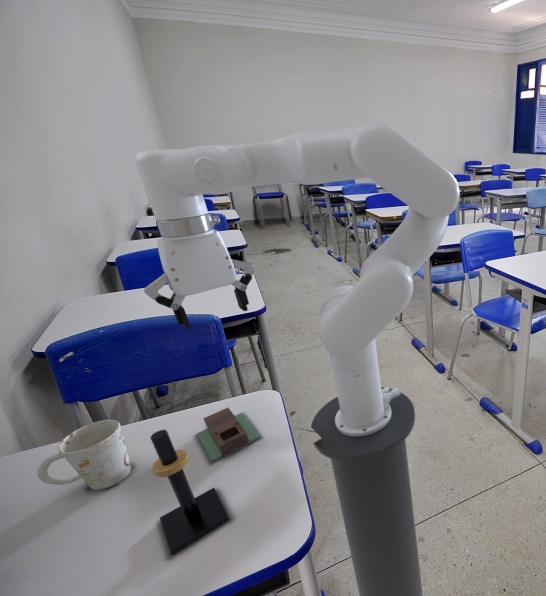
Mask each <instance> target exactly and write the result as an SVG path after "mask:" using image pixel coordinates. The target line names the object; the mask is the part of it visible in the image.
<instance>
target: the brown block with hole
mask: <svg viewBox="0 0 546 596" xmlns="http://www.w3.org/2000/svg"><path fill="white" fill-rule="evenodd" d="M235 416H236V415H234V412H233V411H232V410H231V409H230V407H226V408H222V409H221V410H219V411H216V412H214V413H212V414H209V415H208V416H205V417H203V418H202V419H203V423H204V425H205V427H206V428H205V429H208V431H209V433H210V435H211V436H212V438H213V440H214V442H215V443H216V445H217V447H218V449H219V450H220V452H221V454H222V456H224V455H226V454H228V453H230V452H232V451H233V450H235V449H237V448H239V447H241V446H243V445H245V444H247V443H249V439H248V436H247V433H246V432H245V430H244V429H243V427H242V426H241V425H240V423H239V422H238V420H237V419H236V417H235ZM249 444H250V443H249ZM247 445H248V444H247ZM245 446H246V445H245ZM243 447H244V446H243ZM241 448H242V447H241ZM239 449H240V448H239ZM237 450H238V449H237ZM232 453H233V452H232ZM230 454H231V453H230ZM228 455H229V454H228ZM226 456H227V455H226ZM224 457H225V456H224Z"/></svg>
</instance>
